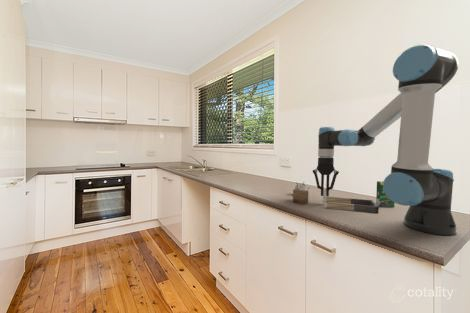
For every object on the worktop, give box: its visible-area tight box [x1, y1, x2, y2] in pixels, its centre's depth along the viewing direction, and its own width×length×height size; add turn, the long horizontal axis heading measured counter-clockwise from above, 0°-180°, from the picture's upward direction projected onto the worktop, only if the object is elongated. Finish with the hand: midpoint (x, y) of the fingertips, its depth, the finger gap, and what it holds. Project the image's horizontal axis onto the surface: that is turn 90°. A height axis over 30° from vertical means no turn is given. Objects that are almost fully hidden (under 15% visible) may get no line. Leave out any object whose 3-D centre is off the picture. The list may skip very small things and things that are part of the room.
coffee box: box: [375, 180, 396, 208], centre depth 113 cm, size 8×3×13 cm, turn 90°
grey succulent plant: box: [294, 182, 310, 191], centre depth 136 cm, size 9×8×10 cm
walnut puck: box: [292, 189, 309, 205], centre depth 121 cm, size 8×8×6 cm
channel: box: [326, 195, 380, 214], centre depth 112 cm, size 13×22×3 cm, turn 69°
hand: (324, 202), depth 116 cm, fingers closed
